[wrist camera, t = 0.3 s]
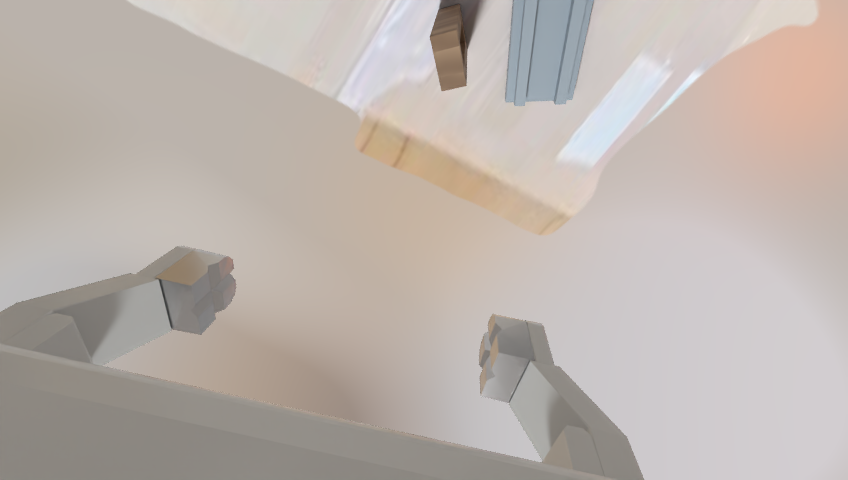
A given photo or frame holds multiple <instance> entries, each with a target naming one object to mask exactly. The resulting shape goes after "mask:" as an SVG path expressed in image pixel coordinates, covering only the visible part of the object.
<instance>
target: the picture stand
mask: <svg viewBox="0 0 848 480" xmlns="http://www.w3.org/2000/svg"><path fill="white" fill-rule="evenodd" d="M593 1H594V0H513V7H512V19H511V32H510V44H509V56H508V69H507V81H506V93H505V101H506V102H514V105H515V106H525V102H528V101H554V103H555V104H566V100H572V98H573V94H574V89H575V84H576V80H577V75H578V70H579V66H580V61H581V57H582V52H583V47H584V43H585V38H586V33H587V29H588V24H589V19H590V15H591V10H592V5H593Z"/></svg>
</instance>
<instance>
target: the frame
mask: <svg viewBox="0 0 848 480" xmlns="http://www.w3.org/2000/svg"><path fill="white" fill-rule="evenodd" d="M430 40H431V44H432V49H433V54H434V58H435V63H436V67H437V72H438V76H439V81H440V86H441V90H442V91H445V90H450V89H454V88H459V87H463V86H466V79H467V46H466V39H465V33H464V27H463V20H462V14H461V8H460V4H457V5H454V6H450V7H447V8H443V9H440V10H438V13H437V16H436V19H435V22H434V26H433V29H432V32H431V35H430Z"/></svg>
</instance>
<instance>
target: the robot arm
mask: <svg viewBox="0 0 848 480" xmlns="http://www.w3.org/2000/svg"><path fill="white" fill-rule="evenodd" d="M233 269H234V265H233V260H232V259H231V258H230V257H228V256H224V255H220V254H215V253H212V252H207V251H203V250H198V249H194V248H190V247H185V246H177V247H175V248H174V249H172V250H171V251H169V252H168V253H166V254H165V255H163V256H162V257H161V258H159V259H157V260H156V261H154V262H153V263H152V264H150V265H149V266H147V267H146V268H144V269H143V270H141V271H140V272H138V273H137V274H131V273H130V274H125V275H121V276H118V277H114V278H110V279H106V280H102V281H99V282H95V283H91V284H88V285H83V286H79V287H76V288H72V289H68V290H65V291H60V292H56V293H53V294H49V295H45V296H41V297H37V298H34V299H30V300H26V301H22V302H18V303H16V304H14V305H12V306H10V307H8V308H7V309H5V310H3V311H1V312H0V480H644V478H643V475H642V473H641V471H640V468H639V466H638V463H637V461H636V458H635V456H634V453H633V451H632V449H631V446H630V444H629V441H628V439H627V437H626V436H625V435H624V434H623V433H622V432H621V430H620V429H618V427H617V426H616V425H615V424H614V423H613V422H612V421H611V420H610V419H609V418H608V417H607V416H606V415H605V414H604V413H603V412H602V411H601V410H600V408H598V406H597V405H596V404H595V403H594V402H593V401H592V400H591V399H590V398H589V397H588V396H587V395H586V394H585V393H584V392H583V391H582V390H581V389H580V388H579V387H578V386H577V385H576V383H575V382H574V381H573V380H572V379H571V378H570V377H569V376H568V375H567V374H566V373H565V372H564V371H563V370H562V369H561V368H560V367H559V366H555V365H554V362H553V358H552V355H551V351H550V348H549V344H548V340H547V337H546V333H545V330H544V326H543V325H542V324H541V323H536V322H531V321H526V320H525V321H523V320H519V319H514V318H510V317H505V316H500V315H495V314H492V316H491V317H490V320H489V322H488V332H487V333H485V334H484V336H483V339H482V342H481V347H480V354H479V365H480V366H481V367H482V369H483V370H482V372H481V375H480V393H481V396H483V397H487V398H491V399H495V400H499V401H503V402H507V403H509V405H510V407H511V409H512V411H513V412H514V414H515V416H516V417H517V419H518V421H519V422H520V424H521V426H522V427H523V429H524V431H525V432H526V434H527V436H528V437H529V439H530V441H531V442H532V444H533V446H534V447H535V449H536V451H537V452H538V454H539V456H540V457H541V459H542V462H536V461H531V460H527V459H523V458H518V457H513V456H509V455H505V454H500V453H495V452H491V451H486V450H482V449H477V448H472V447H468V446H464V445H459V444H454V443H450V442H445V441H441V440H436V439H432V438H427V437H423V436H418V435H414V434H409V433H405V432H400V431H395V430H391V429H386V428H382V427H377V426H373V425H368V424H364V423H359V422H354V421H350V420H345V419H340V418H336V417H332V416H327V415H323V414H318V413H313V412H309V411H304V410H300V409H295V408H291V407H286V406H282V405H277V404H273V403H268V402H264V401H259V400H254V399H250V398H245V397H241V396H236V395H231V394H227V393H222V392H218V391H214V390H209V389H204V388H200V387H195V386H191V385H186V384H182V383H177V382H172V381H168V380H163V379H159V378H154V377H150V376H145V375H140V374H136V373H132V372H127V371H123V370H118V369H113V368H109V367H104V366H102V365H104V364H106V363H108V362H110V361H112V360H114V359H116V358H118V357H120V356H122V355H124V354H126V353H128V352H130V351H132V350H134V349H136V348H138V347H140V346H142V345H144V344H146V343H148V342H150V341H152V340H154V339H156V338H158V337H160V336H162V335H164V334H166V333H168V332H170V331H171V329H173V330H178V331H183V332H189V333H194V334H200V335H201V334H202V333H203V332H204V331H205V330H206V329H207V328H208V327H209V326H210V325H211V323H212V322H213V321H214V320H215V319H216V317H215V313H216V312H219V311H221V310H224V309H225V308H226V307H227V306H228V305H229V304H230V302H231V301H232V299H233V297H234V295H235V289H236V282H235V279H234V278H233V276H232V275H231V274H230V272H231V271H232V270H233Z"/></svg>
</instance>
